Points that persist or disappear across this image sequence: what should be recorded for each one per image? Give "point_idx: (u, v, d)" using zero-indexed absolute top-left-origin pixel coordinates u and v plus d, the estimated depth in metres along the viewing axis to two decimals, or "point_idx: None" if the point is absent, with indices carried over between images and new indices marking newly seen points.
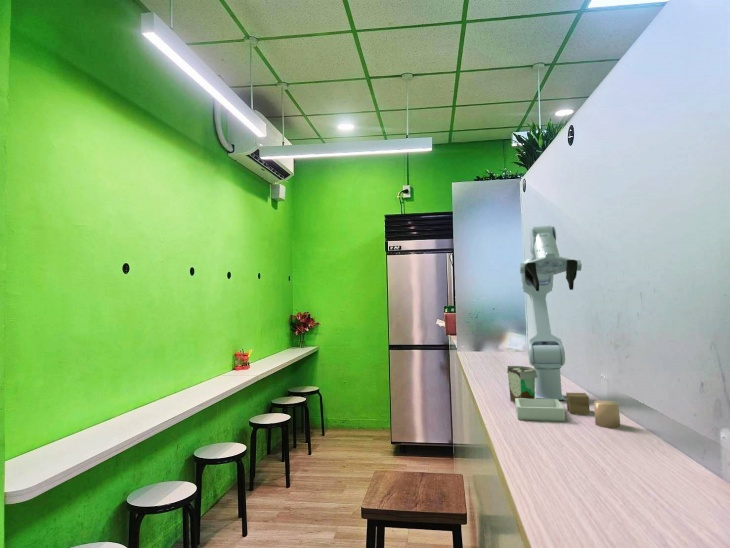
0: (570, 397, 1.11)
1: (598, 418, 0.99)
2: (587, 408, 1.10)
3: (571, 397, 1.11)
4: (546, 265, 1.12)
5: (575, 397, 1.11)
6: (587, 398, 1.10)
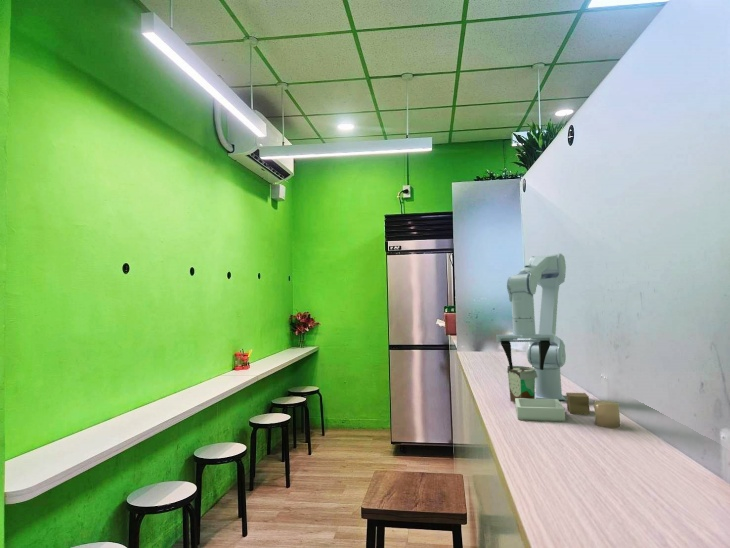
0: (570, 397, 1.11)
1: (598, 418, 0.99)
2: (587, 408, 1.10)
3: (571, 397, 1.11)
4: None
5: (575, 397, 1.11)
6: (587, 398, 1.10)
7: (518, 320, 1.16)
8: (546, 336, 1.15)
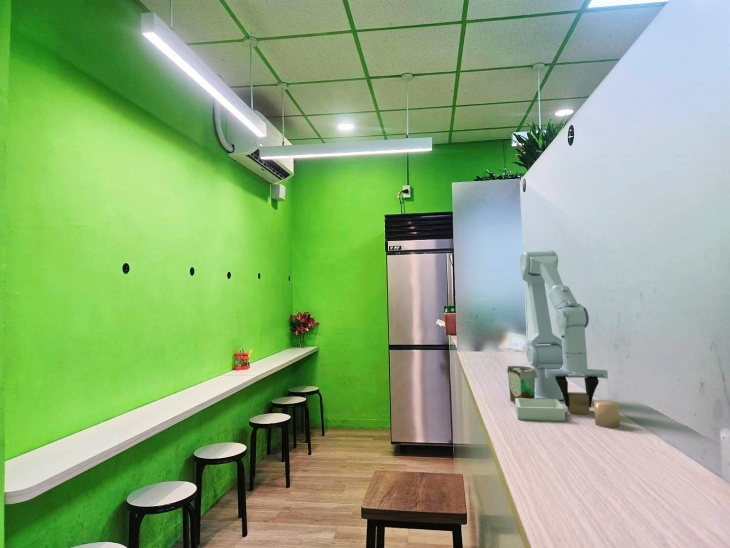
0: (570, 397, 1.11)
1: (598, 418, 0.99)
2: (587, 408, 1.10)
3: (571, 397, 1.11)
4: None
5: (575, 397, 1.11)
6: (587, 398, 1.10)
7: (570, 355, 1.11)
8: (599, 372, 1.10)
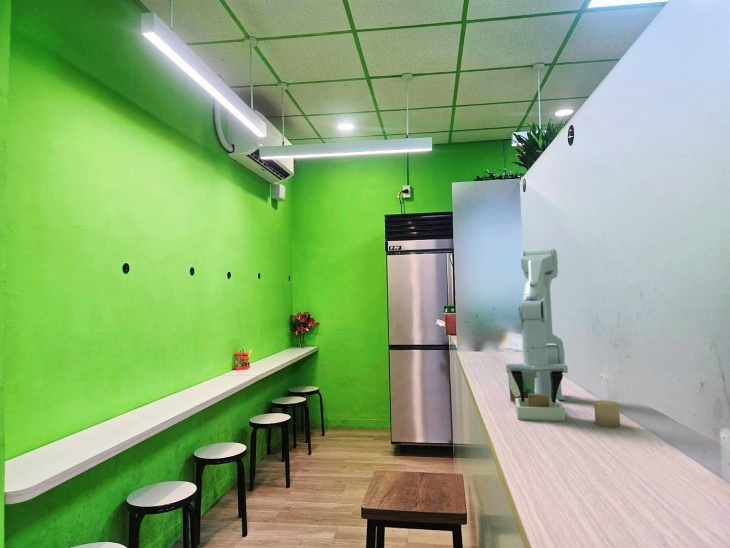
0: (530, 398, 1.09)
1: (598, 418, 0.99)
2: None
3: (531, 398, 1.09)
4: None
5: (535, 398, 1.08)
6: (547, 399, 1.08)
7: (529, 350, 1.09)
8: (559, 367, 1.08)
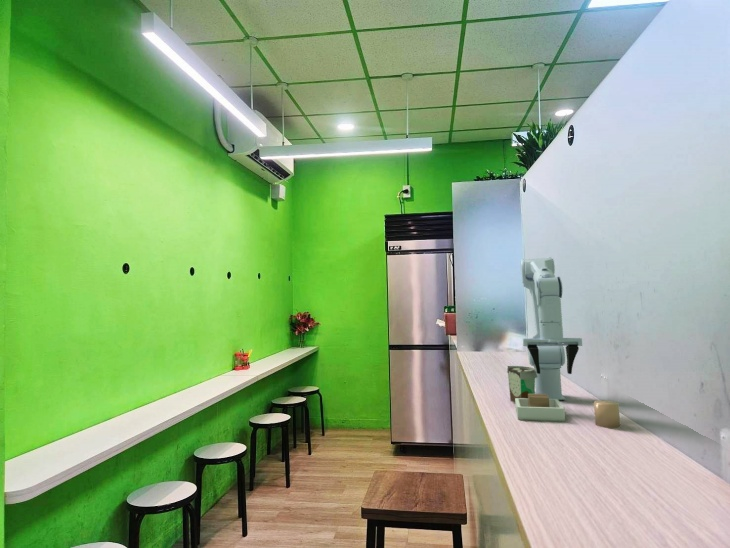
0: (530, 398, 1.09)
1: (598, 418, 0.99)
2: None
3: (531, 398, 1.09)
4: None
5: (535, 398, 1.08)
6: (547, 399, 1.08)
7: (546, 324, 1.15)
8: (574, 340, 1.14)
